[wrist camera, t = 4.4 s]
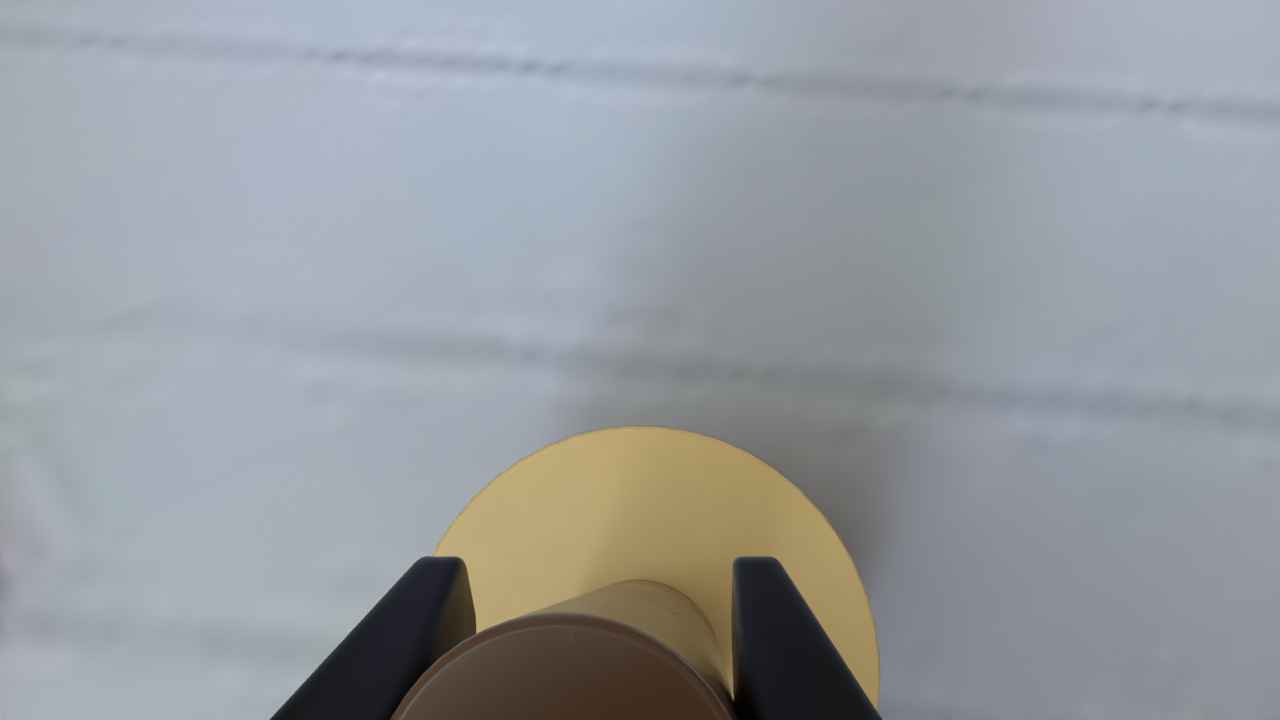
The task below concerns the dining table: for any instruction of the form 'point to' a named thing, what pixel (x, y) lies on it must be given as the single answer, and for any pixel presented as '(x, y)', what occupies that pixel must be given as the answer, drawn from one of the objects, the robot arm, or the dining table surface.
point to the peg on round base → (629, 581)
